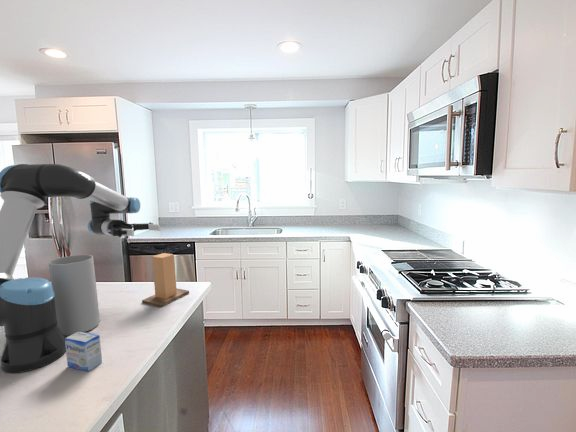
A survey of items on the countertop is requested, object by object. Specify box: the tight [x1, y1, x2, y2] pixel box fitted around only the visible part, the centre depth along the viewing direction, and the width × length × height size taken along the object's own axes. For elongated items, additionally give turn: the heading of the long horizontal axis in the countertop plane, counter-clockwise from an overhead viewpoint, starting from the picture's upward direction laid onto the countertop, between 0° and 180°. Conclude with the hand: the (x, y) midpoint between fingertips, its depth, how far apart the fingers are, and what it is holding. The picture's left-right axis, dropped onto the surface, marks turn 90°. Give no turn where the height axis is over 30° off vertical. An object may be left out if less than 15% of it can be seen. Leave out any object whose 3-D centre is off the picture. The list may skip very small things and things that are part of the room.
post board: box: [141, 287, 190, 308], centre depth 131 cm, size 16×11×8 cm
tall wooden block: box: [151, 252, 177, 299], centre depth 131 cm, size 6×6×18 cm
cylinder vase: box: [48, 254, 101, 337], centre depth 105 cm, size 12×12×25 cm
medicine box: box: [65, 332, 103, 372], centre depth 84 cm, size 8×4×9 cm, turn 73°
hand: (146, 230), depth 132 cm, fingers open, 13 cm apart
